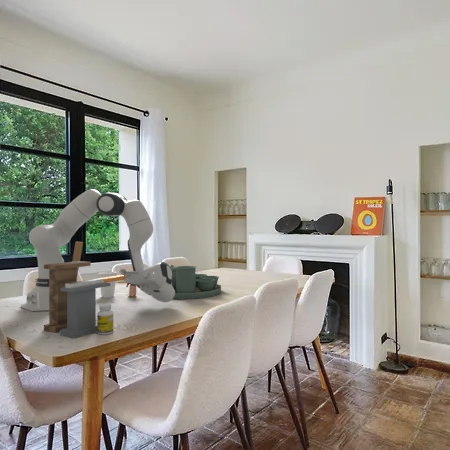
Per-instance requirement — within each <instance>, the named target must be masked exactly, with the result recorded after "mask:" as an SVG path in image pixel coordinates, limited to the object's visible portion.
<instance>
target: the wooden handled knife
mask: <svg viewBox="0 0 450 450" xmlns="http://www.w3.org/2000/svg"><path fill="white" fill-rule="evenodd" d="M124 280H125V275H120V274H119V275H118V274H117V276H111V277H104V278H99V277H98V278H93V279H85V280H79V281H78V280H77V282H72V283H65V288H68V289H73V288H79V287H84V286H90V285H96V284H102V283H108V282H114V281H116V282H118V281H124Z"/></svg>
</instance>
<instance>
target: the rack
mask: <svg viewBox="0 0 450 450" xmlns="http://www.w3.org/2000/svg"><path fill="white" fill-rule="evenodd" d="M106 286H110V283H102V284H96V285H90V286H84V287H79V288H73V289H68V288H65V287H63V288H60V291H66V292H67V328H65V329H61V330H60V332H59V333H60V335H59V336H61V337H64V338H65V337H66V338H70V339H76V338H80V337H83V336H86V335H90V334H93V333H96V332H97V318H96V317H97V316H96V310H97V309H96V306H97V305H96V301H97V299H96V295H97V294H96V293H97V291H96V290H97V289H99V288H100V289H101V287H106Z"/></svg>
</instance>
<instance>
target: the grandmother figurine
mask: <svg viewBox="0 0 450 450" xmlns="http://www.w3.org/2000/svg"><path fill="white" fill-rule="evenodd" d="M125 287H126V288H128V287H129V290H128V291H129V292H128V295H127V298H137V286H136V284H130V283H128V282H126V285H125Z"/></svg>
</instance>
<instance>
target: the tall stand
mask: <svg viewBox="0 0 450 450" xmlns="http://www.w3.org/2000/svg"><path fill="white" fill-rule="evenodd" d="M91 263H92V262H91V261H81V260H80V261H75V262H72V261H67V262H65V261H64V263H55V264H45V265H44V269H49V310H48V316H49V320H48V321H49V323H46V324H43V331H46V332H50V333H53V334H57V333H60V330H61V329H65V328H67V292H66V291H60V288H63V287H65V283H72V282H78V275H77V267H79V268H83V267H90V266H91Z"/></svg>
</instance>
